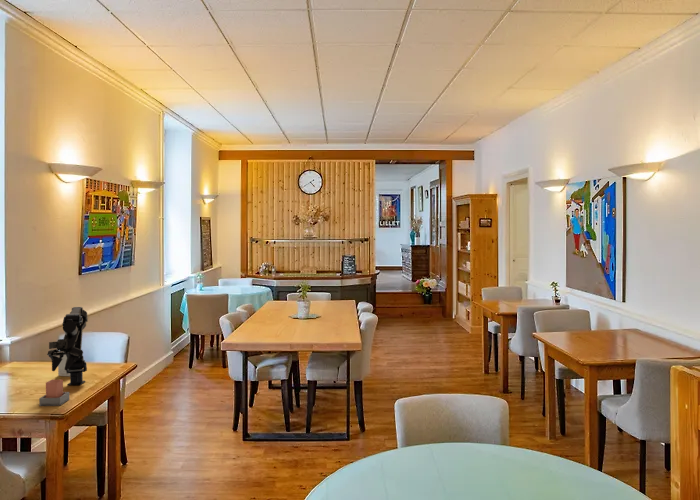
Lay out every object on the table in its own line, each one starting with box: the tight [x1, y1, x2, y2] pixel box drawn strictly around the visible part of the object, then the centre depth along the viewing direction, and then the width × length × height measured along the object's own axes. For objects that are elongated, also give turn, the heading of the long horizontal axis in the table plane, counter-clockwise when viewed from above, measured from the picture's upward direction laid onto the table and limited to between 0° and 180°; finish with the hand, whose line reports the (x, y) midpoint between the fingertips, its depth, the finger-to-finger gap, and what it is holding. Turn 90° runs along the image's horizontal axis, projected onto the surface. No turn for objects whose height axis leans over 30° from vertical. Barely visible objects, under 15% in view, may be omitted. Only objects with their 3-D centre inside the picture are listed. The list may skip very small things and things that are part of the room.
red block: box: [45, 378, 64, 398], centre depth 242 cm, size 5×5×9 cm
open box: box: [38, 391, 70, 407], centre depth 242 cm, size 9×9×4 cm
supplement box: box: [57, 355, 70, 377], centre depth 289 cm, size 7×7×13 cm
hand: (59, 370), depth 249 cm, fingers open, 9 cm apart
